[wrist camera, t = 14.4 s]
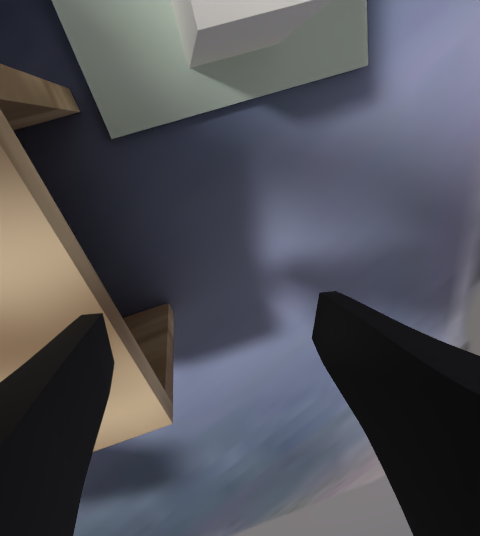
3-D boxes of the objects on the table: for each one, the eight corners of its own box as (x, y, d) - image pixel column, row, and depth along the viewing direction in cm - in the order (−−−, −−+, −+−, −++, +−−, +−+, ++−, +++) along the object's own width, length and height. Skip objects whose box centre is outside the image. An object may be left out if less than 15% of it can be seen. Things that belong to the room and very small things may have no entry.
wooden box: (-103, 135, 13) (-482, 147, 5) (69, 88, 13) (-64, 40, 6) (63, 350, 20) (-6, 486, 12) (173, 313, 20) (172, 423, 13)
